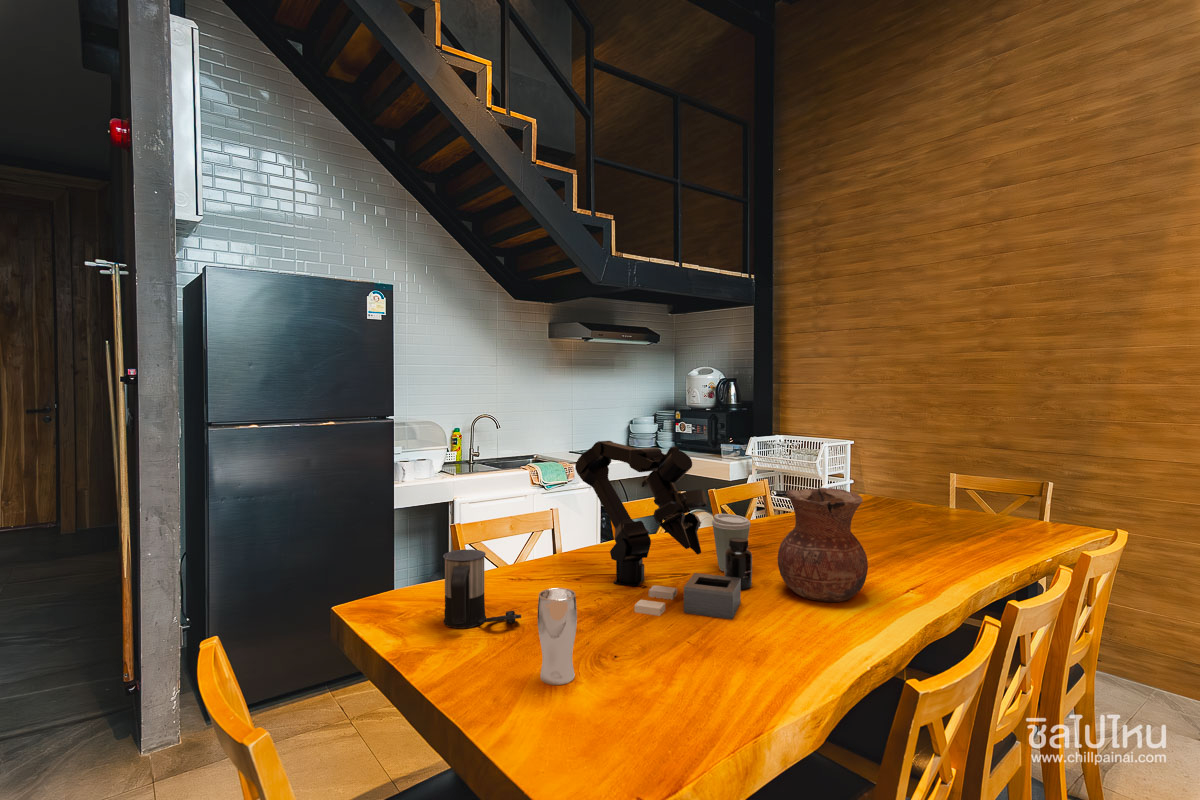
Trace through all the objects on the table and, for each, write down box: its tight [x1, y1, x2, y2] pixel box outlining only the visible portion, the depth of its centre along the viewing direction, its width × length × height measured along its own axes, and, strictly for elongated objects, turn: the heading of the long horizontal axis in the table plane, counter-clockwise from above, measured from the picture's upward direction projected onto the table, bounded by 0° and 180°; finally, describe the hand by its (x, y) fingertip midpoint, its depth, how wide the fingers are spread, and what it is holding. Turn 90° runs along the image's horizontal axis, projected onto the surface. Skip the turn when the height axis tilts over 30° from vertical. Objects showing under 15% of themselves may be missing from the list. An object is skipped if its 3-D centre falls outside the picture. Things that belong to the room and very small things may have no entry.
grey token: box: [648, 585, 678, 601], centre depth 156 cm, size 6×4×2 cm, turn 68°
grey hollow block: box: [683, 572, 742, 620], centre depth 147 cm, size 11×11×6 cm
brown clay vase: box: [776, 487, 869, 603], centre depth 157 cm, size 22×21×25 cm
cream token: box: [634, 599, 666, 617], centre depth 145 cm, size 6×4×2 cm, turn 67°
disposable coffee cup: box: [711, 513, 751, 573], centre depth 176 cm, size 11×11×15 cm
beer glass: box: [537, 587, 578, 686], centre depth 113 cm, size 7×7×15 cm
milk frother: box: [443, 548, 522, 629], centre depth 138 cm, size 14×16×15 cm
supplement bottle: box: [724, 538, 753, 591], centre depth 163 cm, size 7×7×12 cm
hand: (693, 551), depth 146 cm, fingers open, 9 cm apart
